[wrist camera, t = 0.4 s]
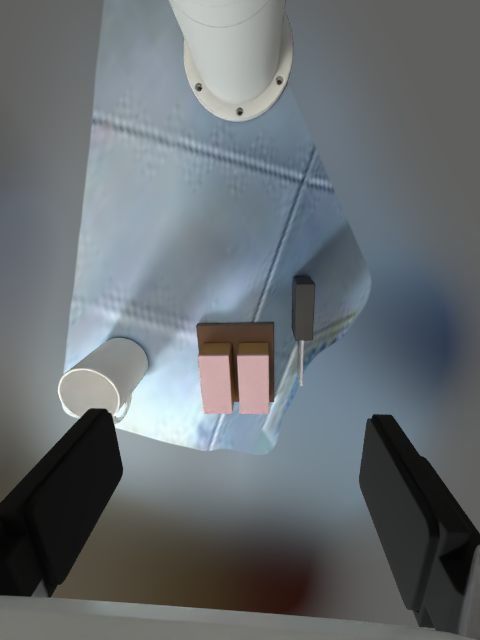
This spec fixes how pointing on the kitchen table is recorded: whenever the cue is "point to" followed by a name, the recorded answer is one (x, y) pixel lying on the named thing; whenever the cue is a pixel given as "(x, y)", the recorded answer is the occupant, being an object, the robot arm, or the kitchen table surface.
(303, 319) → the dark block with blade
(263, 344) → the cake slice
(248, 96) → the robot arm
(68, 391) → the mug
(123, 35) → the kitchen table surface
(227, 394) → the block
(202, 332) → the cake board
